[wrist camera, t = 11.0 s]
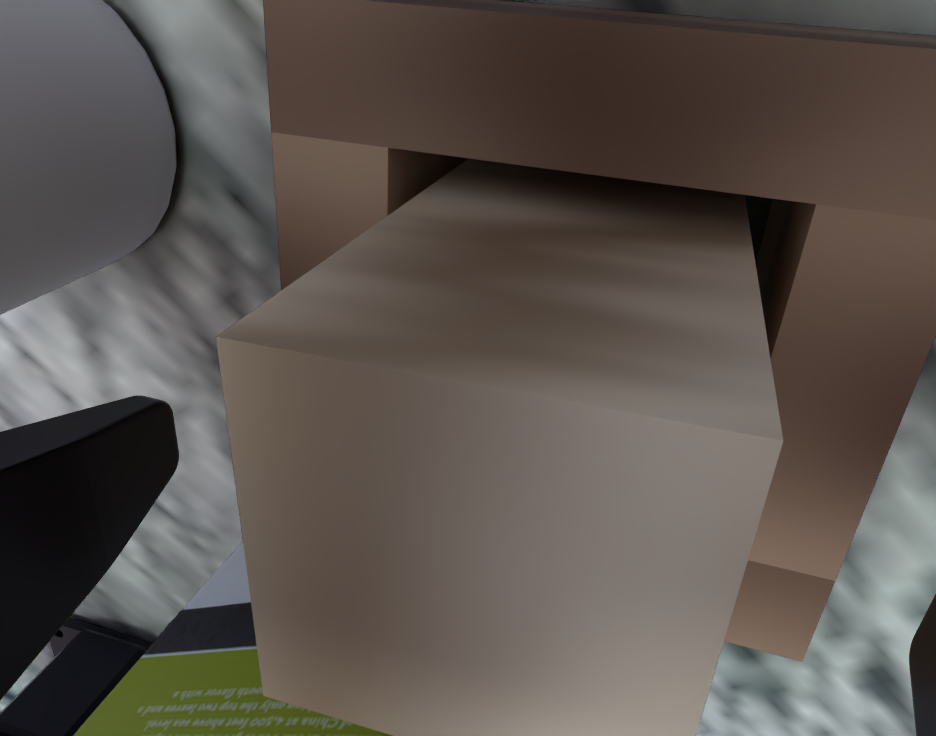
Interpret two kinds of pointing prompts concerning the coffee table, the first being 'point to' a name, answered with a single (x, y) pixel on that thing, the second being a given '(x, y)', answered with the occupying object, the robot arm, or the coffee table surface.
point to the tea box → (207, 676)
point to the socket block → (665, 162)
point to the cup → (76, 144)
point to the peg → (507, 458)
